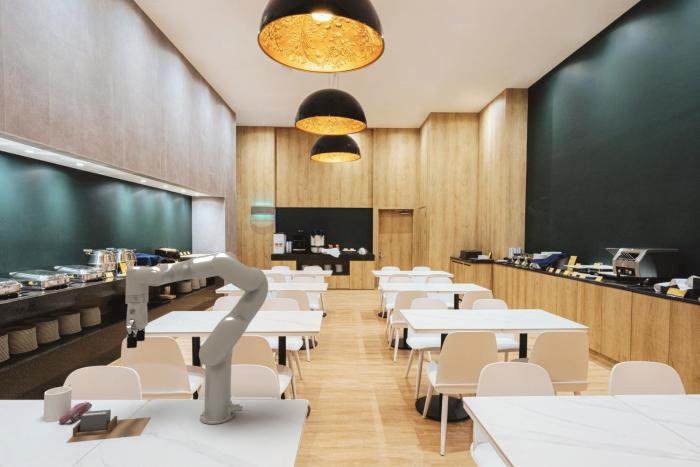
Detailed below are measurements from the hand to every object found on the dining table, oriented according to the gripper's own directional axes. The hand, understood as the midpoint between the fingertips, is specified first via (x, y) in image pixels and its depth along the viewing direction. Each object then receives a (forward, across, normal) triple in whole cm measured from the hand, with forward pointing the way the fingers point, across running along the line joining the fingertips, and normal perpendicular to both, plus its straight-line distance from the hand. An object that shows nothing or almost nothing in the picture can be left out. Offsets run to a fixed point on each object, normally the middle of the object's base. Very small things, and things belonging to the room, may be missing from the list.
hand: (136, 344), depth 143 cm
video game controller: (+29, +6, +22) cm, 36 cm away
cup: (+29, +11, +29) cm, 42 cm away
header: (+28, -8, +5) cm, 30 cm away
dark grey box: (+27, -8, +10) cm, 30 cm away
